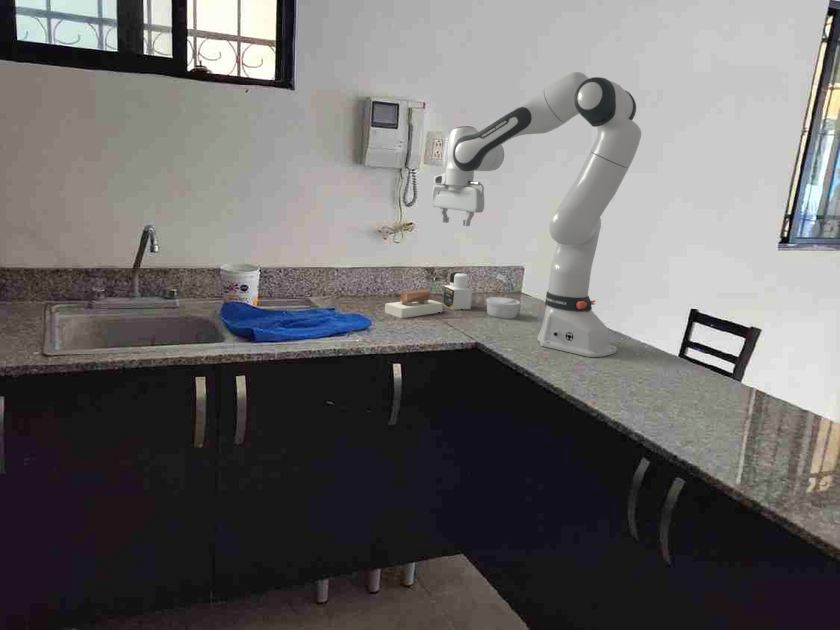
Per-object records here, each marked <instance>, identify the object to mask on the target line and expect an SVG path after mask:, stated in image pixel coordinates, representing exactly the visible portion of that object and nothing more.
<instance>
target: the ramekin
mask: <svg viewBox="0 0 840 630" xmlns="http://www.w3.org/2000/svg"><path fill="white" fill-rule="evenodd" d="M520 306H521V302H520V301H519V300H518V299H514V298H511V297H502V296H501V297H500V296H491V297H487V298H486V310H487V311H486V313H487V314H488V316H490V317H492V318H494V319H499V320H500V319H501V320H502V319H503V320H513V319H515V318H516V317H517V316H518V312H519V309H520Z"/></svg>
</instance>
